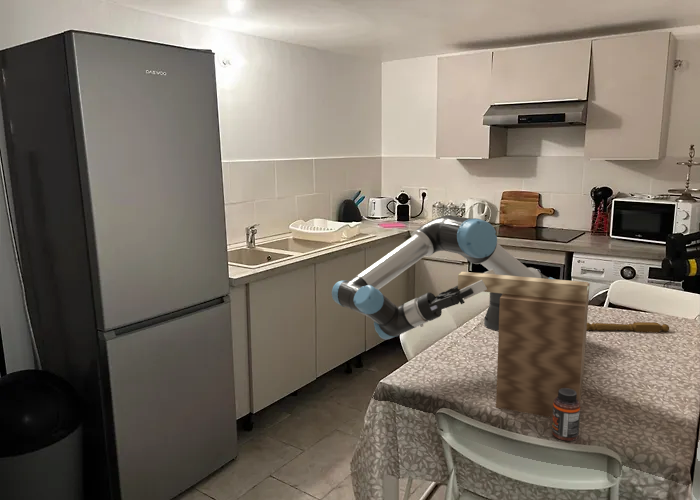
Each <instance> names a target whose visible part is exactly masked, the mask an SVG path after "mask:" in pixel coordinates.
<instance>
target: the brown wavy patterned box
mask: <svg viewBox="0 0 700 500" xmlns="http://www.w3.org/2000/svg"><path fill="white" fill-rule="evenodd" d="M590 285H591V284H590V283H589V282H588V287H587V299H586V302H584V301H574V300H564V299H554V298H543V297H533V296H523V295H513V294H502V296H501V297H500V307H499V331H498V341H497V364H496V365H497V367H496V371H497V372H496V395H495V396H496V397H495V408H498V409H502V410H503V409H504V410H508V411H514V412H519V413H524V414H528V415H529V414H530V415H535V416H541V417H547V418H552V419H553V403H554V399H555V398H556V397H557V396H558V392H559V389H561V388H569V389H572V390H574V391H576V393H577V398H576V399H577V400H578V401H579V402H580V403H581V399H582V393H583V385H584V376H585V375H584V373H585V360H586V359H585V357H586V342H587V331H588V330H587V323H588V313H589V312H588V311H589V299H590V298H589V297H590Z"/></svg>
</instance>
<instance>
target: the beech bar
mask: <svg viewBox="0 0 700 500" xmlns="http://www.w3.org/2000/svg"><path fill="white" fill-rule="evenodd" d="M484 273H485V272H472V271H471V272H469V271H461V272H459V274H457V286H458V289H463V288H465V287H468V286H470V285H472V284H474V283H476V282H478V281H480V280H483V282H484V284H485V286H486V288H487V290H485V291H483V292H482V293H490V292H492V293H502V294H513V295H523V296H533V297H543V298H554V299H564V300H574V301H584V302H586V299H587V287H588V283H589V282H588V281H579V280H578V281H577V280H565V279H556V278H554V279H544V278H532V277H520V276H508V275H496V274H484Z"/></svg>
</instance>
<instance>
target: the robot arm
mask: <svg viewBox="0 0 700 500" xmlns="http://www.w3.org/2000/svg"><path fill="white" fill-rule="evenodd" d="M496 233H497V231H496V229H495V227H494V226H493V224H491V223H490V222H488V221H486V220H485V219H484V220H483V219H480V218H470V217H469V218H468V217H463V216H462V217H461V216H455V215H450V214H448V215H443V216H438V217H436V218H434V219H432V220H430V221H427V222H426V223H424V224H423V225H420V226H419V227H418V228H416V229H415V230H413V232H412V233H411V235H410V236H411V237H409V238H408V239H407V240H405V241H404V242H402V243H400V245H398V246H397V247H395V248H393V249H392V250H391V251H389V252H388V253H387V254H386V255H383V256H382V257H381V258H380V259H378V260H377V261H375V262H374V263H372V264H371V265H369V267H367V268H365V269H364V270H362V271H361V272H360V273H358V274H356V276H354V277H353V278H352V279H350V280H340V281H337V282H336V283H335V284H333V287H332V290H331V297H332V300H333V301H334V303H336V304H338V305H340V306H341V307H343V308H347V309H349V310H352V311H353V312H356V313H358V314H361V315H363V316H366V317H367V318H370V320H372V321H373V326H374V330H375V332H376V333H377V334H378V336H379V337H380V339H383V340H390V339H393V338H395V337H396V338H397V337H399V336H400V335H402V334H404V333H407V332H408V331H411V330H412V329H415V328H417V327H420V328H422V327H424V324H426V323H428V322H430V321H433V320H435V319H438V318H440V317H441V316H442V313H443V312H442V310H444V309H447V308H450V307H453V306H456V305H459V304H460V305H463V304H465V300H467V299H469V298H471V297H474V296H476V295H478V294H480V293H484V292H483V291H485V290H487V288H486V286H485V284H484V282H483V280H480V281H478V282H476V283H474V284H472V285H470V286H468V287H465V288H463V289H458V285H456V286H454V287H451V288H449V289H447V290H445V291H441V292H440V293H439V294H438V295H436V296H435V294H434V293H432V292H428V291H427V292H426V293H424V294H422V295H420V296H417V297H415V298H413V299H411V300H409V301H407V302H404V303H403V304H400V305H399V306H397V305H396V304H395V303H394V302H393V301H391V300H390V299H389V298H388V297H387V296H385V294H383V293H382V292H381V291H380V289H382V288H384V286H386V285H387V284H389V283H390V282H391V281H392V280H394V279H395V278H397V277H398V276H399V275H401V274H403V273H404V272H405V271H406V270H408V269H409V268H410V267H412V266H413V265H415V264H416V263H417V262H419V261H420V260H421V259H423V258H424V257H430V256H432V255H434V254H435V253H437V252H440V251H441V252H443V251H445V252H449V253H453V254H458V255H460V256H462V257H463V258H464V259H466V260H467V261H469V262H470V263H471V264H475V265H479V264H480V265H482V266H483V267H484V268H486V269H487V271H484V272H483V273H484V274H496V275H508V276H520V277H532V278H544V279H555V278H553V277H551V276H549V277H548V276H546V275H544V274H543V273H541V272H540V271H539V270H537V268H534V267H527V266H526V265H525V264H523V263H522V262H521V261H519V260H518V259H517V258H516V257H515V255H512V254H511V253H510V252H508V250H507V249H505V248H504V247H503V246H501V244H499V243H498V235H496ZM501 296H502V293H492V292H489V306H488V308H487V311H486V313H485V315H484V319H483V325H484V326H485V328H488V329H490V330H492V331H497V332H499V307H500V297H501Z"/></svg>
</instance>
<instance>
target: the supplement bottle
mask: <svg viewBox="0 0 700 500" xmlns="http://www.w3.org/2000/svg"><path fill="white" fill-rule="evenodd" d="M576 398H577V393H576V391H574V390H572V389H569V388H561V389H559V392H558V396H557V397H556V398H555V399H554V403H553V418H552V422H551V433H552V436H554V437H555V438H556V439H559V440H562V441H565V442H567V441H568V442H569V441H570V442H572V441H575V440H577V439H578V437H579V433H580V432H579V431H580V418H581V417H580V416H581V401H580V402H579V401H578V400H577V399H576Z"/></svg>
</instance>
